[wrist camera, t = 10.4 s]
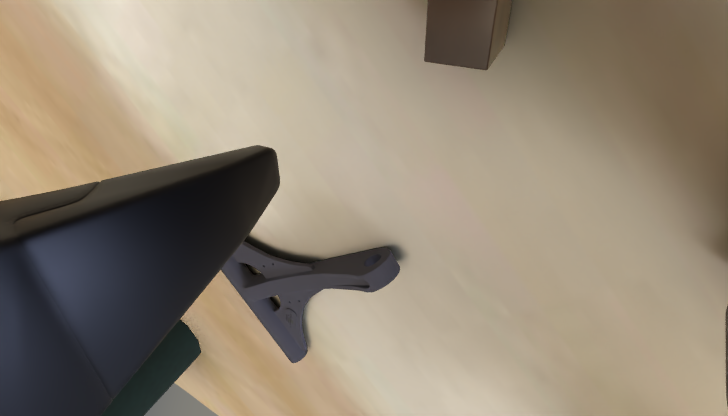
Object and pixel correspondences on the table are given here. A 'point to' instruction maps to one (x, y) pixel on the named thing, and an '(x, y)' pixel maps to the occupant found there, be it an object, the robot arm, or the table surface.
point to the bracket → (301, 286)
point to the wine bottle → (156, 373)
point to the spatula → (466, 31)
